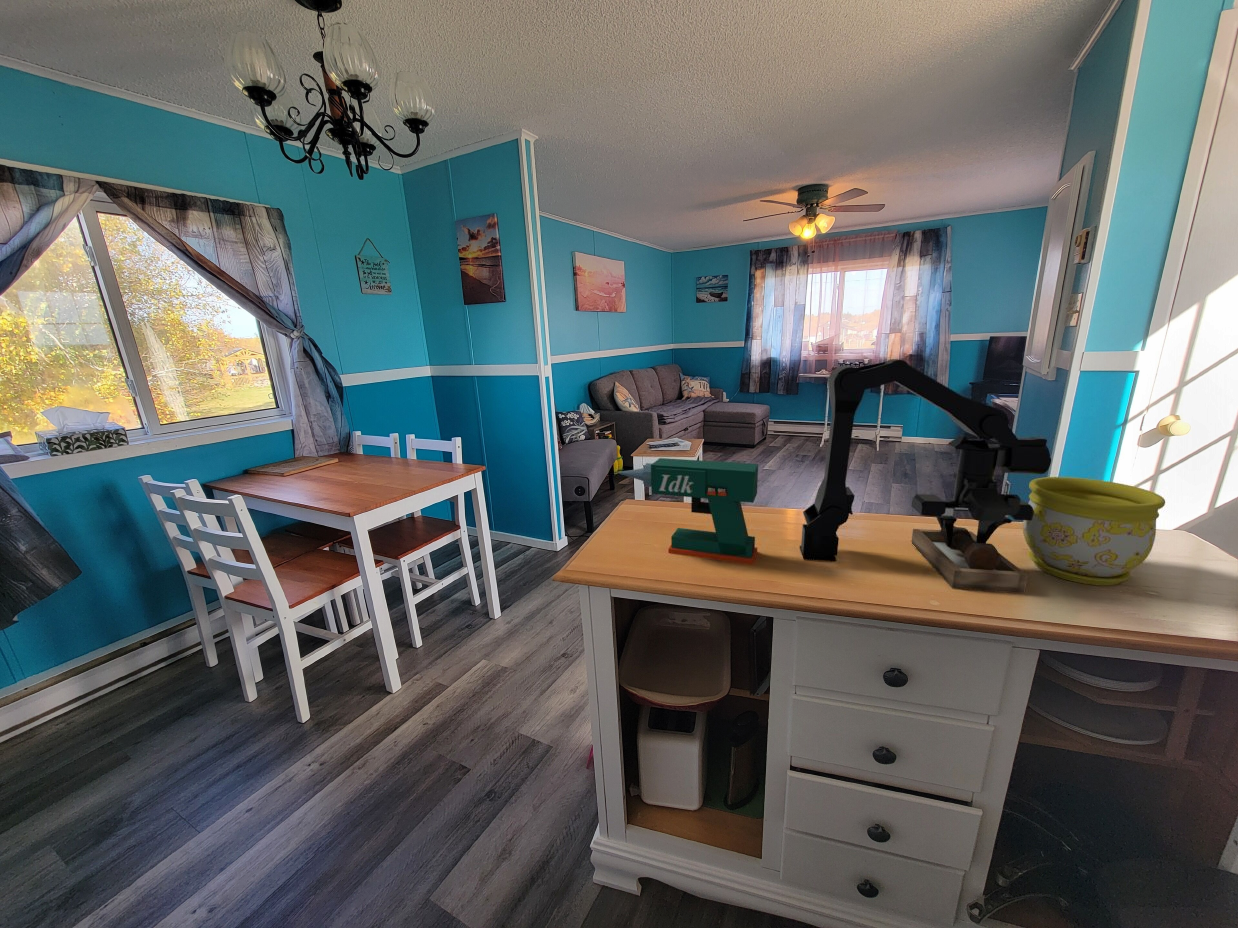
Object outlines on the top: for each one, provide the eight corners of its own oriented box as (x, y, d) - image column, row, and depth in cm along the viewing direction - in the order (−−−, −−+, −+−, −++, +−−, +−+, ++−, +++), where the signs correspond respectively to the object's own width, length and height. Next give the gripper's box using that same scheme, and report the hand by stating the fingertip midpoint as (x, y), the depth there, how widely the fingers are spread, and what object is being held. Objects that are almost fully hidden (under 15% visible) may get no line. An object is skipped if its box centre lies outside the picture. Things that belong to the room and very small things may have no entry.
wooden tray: (952, 588, 87) (954, 570, 86) (911, 543, 107) (913, 528, 106) (1024, 593, 85) (1027, 575, 84) (968, 546, 104) (971, 531, 103)
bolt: (949, 547, 102) (986, 578, 88) (928, 535, 102) (960, 564, 88) (968, 526, 100) (1008, 553, 86) (946, 513, 101) (982, 539, 86)
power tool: (611, 546, 110) (608, 462, 106) (622, 535, 117) (620, 455, 112) (753, 565, 99) (757, 472, 94) (757, 552, 105) (760, 464, 100)
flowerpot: (1122, 561, 95) (1141, 482, 91) (1162, 603, 80) (1187, 511, 76) (1008, 544, 104) (1021, 472, 100) (1024, 579, 89) (1040, 496, 85)
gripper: (938, 481, 85) (927, 561, 89) (1061, 485, 81) (1043, 569, 85) (915, 466, 96) (906, 538, 100) (1022, 469, 92) (1008, 544, 96)
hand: (963, 547), depth 95 cm, fingers closed on bolt, 5 cm apart
